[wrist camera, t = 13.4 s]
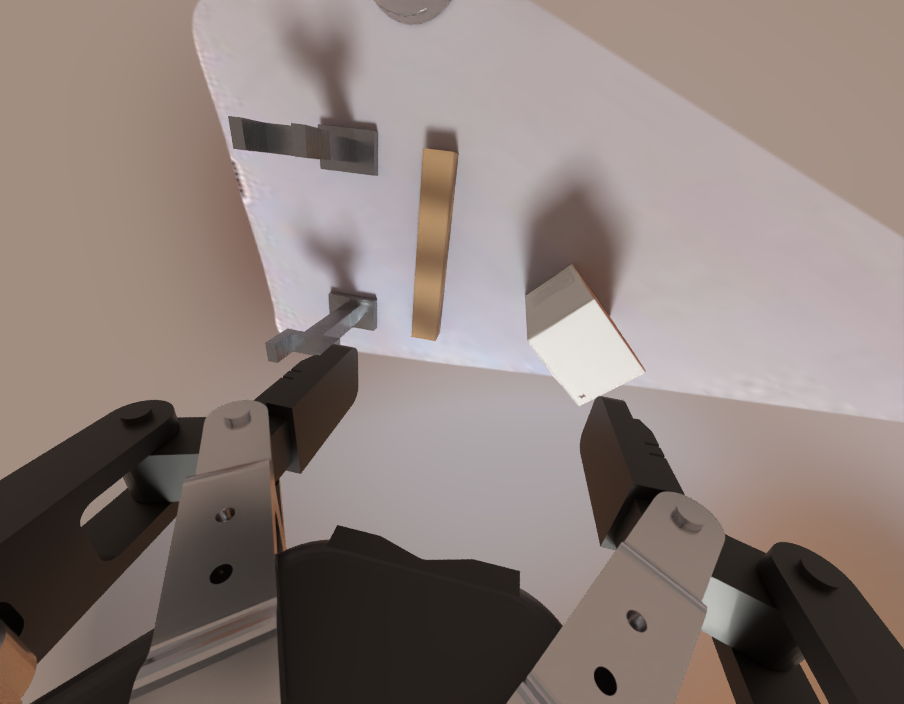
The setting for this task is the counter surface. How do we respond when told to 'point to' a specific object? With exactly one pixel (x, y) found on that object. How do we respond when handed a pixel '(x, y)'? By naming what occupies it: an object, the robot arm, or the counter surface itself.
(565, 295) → the small box
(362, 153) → the grey support rack
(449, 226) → the tan wooden bar
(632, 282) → the counter surface
